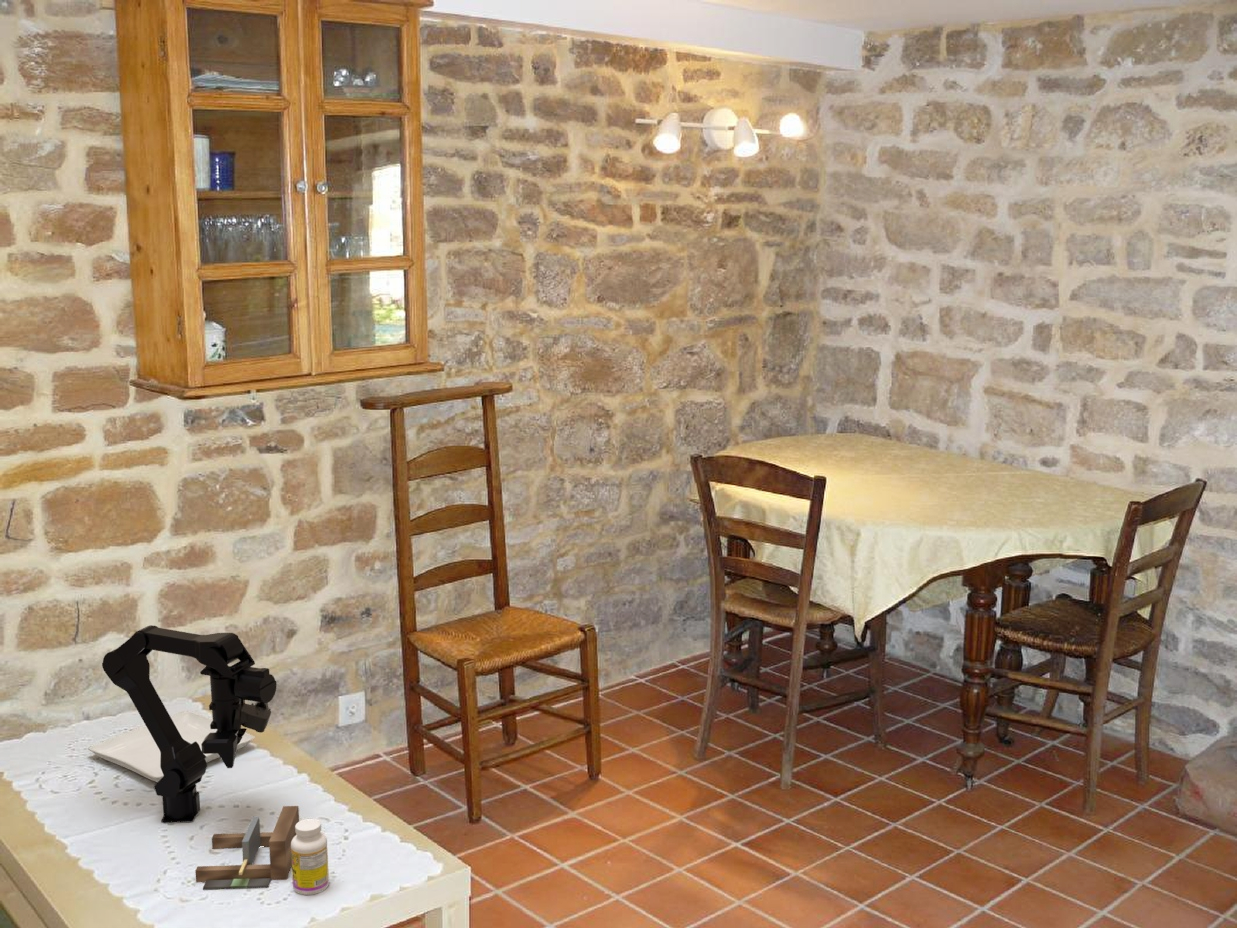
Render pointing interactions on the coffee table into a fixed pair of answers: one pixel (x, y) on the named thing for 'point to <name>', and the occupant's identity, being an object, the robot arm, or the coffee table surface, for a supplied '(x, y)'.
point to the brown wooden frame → (254, 873)
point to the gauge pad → (250, 843)
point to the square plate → (144, 753)
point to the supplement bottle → (309, 858)
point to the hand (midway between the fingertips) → (230, 767)
